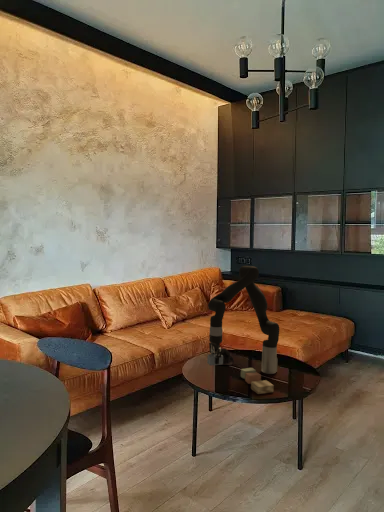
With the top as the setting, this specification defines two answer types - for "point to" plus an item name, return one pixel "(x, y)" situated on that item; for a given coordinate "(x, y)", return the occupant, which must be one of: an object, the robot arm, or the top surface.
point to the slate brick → (212, 359)
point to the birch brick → (262, 386)
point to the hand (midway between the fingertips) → (215, 362)
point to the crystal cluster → (227, 357)
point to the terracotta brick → (252, 377)
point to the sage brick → (247, 370)
